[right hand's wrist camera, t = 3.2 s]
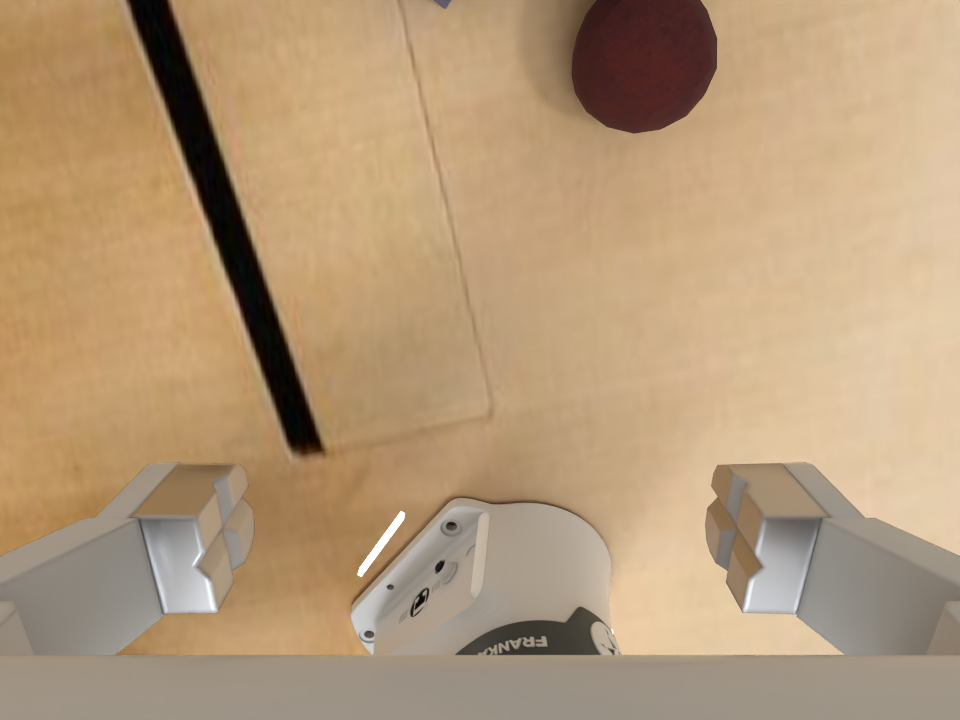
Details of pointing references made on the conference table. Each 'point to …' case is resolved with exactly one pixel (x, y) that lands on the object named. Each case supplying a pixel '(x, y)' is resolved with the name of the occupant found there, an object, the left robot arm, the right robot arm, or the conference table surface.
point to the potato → (643, 61)
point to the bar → (443, 3)
